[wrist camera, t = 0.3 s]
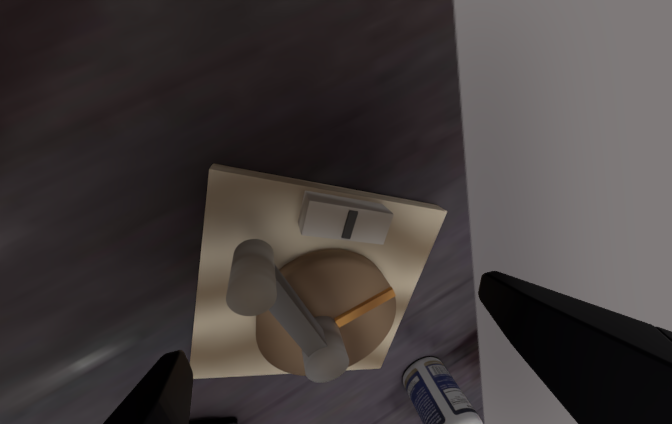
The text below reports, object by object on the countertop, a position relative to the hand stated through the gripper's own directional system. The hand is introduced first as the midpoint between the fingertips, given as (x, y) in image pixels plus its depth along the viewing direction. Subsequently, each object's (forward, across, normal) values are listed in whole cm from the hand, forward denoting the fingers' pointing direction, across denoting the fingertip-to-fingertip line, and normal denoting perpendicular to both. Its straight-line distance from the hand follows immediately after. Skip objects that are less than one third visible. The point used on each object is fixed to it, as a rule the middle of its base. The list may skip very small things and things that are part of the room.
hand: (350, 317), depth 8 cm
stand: (+13, 0, +9) cm, 16 cm away
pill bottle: (+13, -12, +26) cm, 31 cm away
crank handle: (+11, 0, +8) cm, 14 cm away
